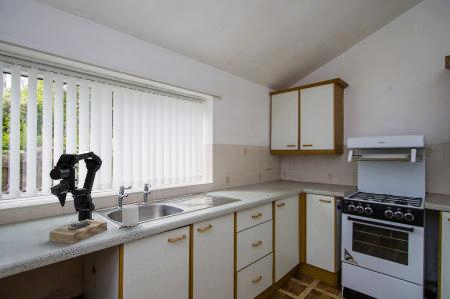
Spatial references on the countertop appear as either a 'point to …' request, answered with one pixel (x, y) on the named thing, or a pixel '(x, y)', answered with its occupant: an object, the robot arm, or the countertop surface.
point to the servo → (79, 224)
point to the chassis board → (77, 232)
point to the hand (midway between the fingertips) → (69, 207)
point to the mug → (130, 215)
